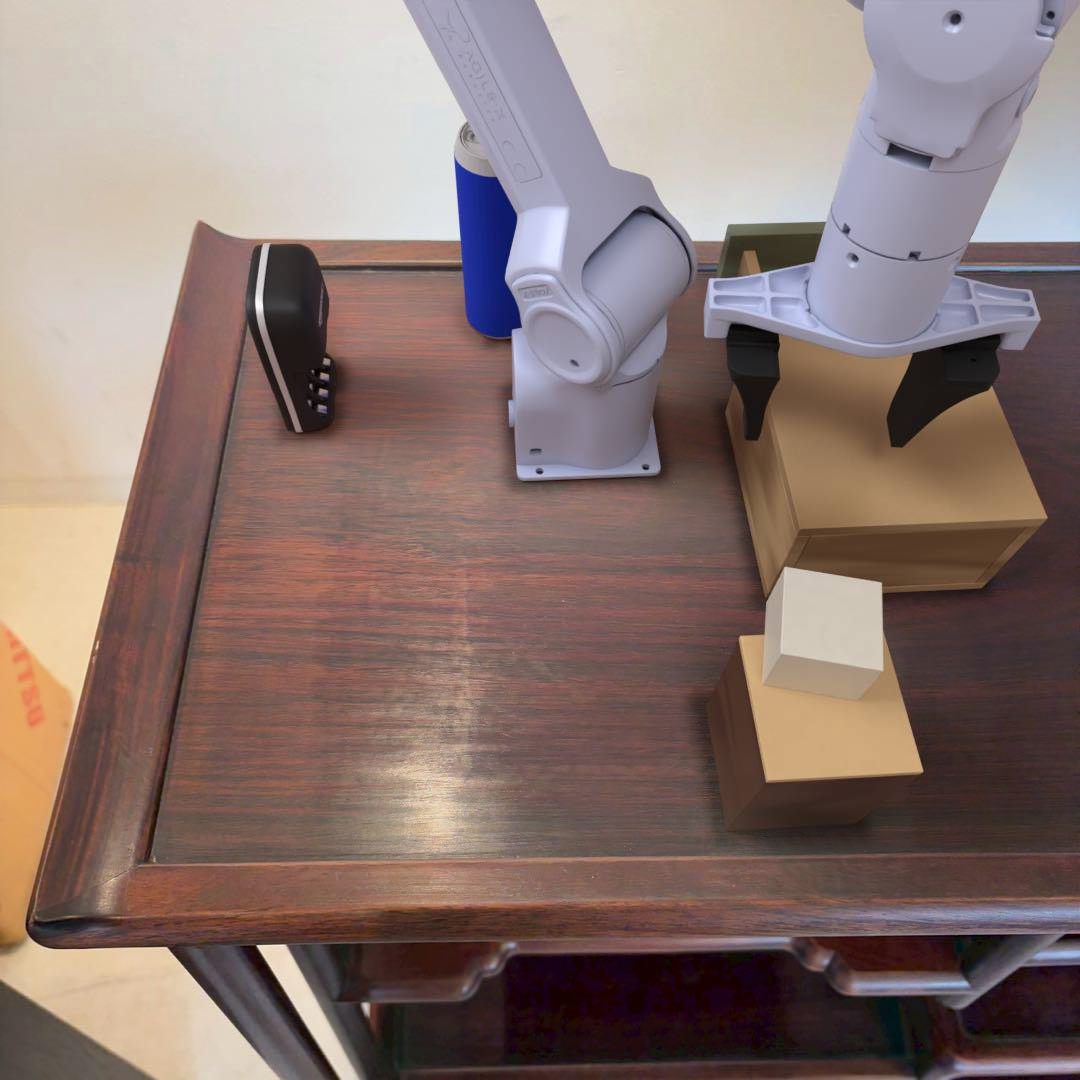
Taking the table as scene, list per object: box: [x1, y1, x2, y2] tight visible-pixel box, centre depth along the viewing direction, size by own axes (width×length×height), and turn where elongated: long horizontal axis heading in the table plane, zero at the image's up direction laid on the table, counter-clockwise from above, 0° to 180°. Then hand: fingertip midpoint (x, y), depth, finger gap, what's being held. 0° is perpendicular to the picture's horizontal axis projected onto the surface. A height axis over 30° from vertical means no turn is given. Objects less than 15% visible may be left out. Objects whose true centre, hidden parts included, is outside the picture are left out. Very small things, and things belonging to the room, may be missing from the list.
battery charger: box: [245, 242, 337, 433], centre depth 57 cm, size 7×4×11 cm, turn 4°
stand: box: [705, 639, 921, 832], centre depth 45 cm, size 7×7×9 cm
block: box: [762, 567, 884, 701], centre depth 41 cm, size 4×4×4 cm
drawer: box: [714, 221, 826, 278], centre depth 61 cm, size 15×12×6 cm
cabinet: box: [724, 334, 1049, 599], centre depth 55 cm, size 15×14×8 cm
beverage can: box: [453, 120, 522, 340], centre depth 60 cm, size 5×5×15 cm
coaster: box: [738, 630, 924, 783], centre depth 41 cm, size 7×7×1 cm
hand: (822, 429), depth 48 cm, fingers open, 7 cm apart
